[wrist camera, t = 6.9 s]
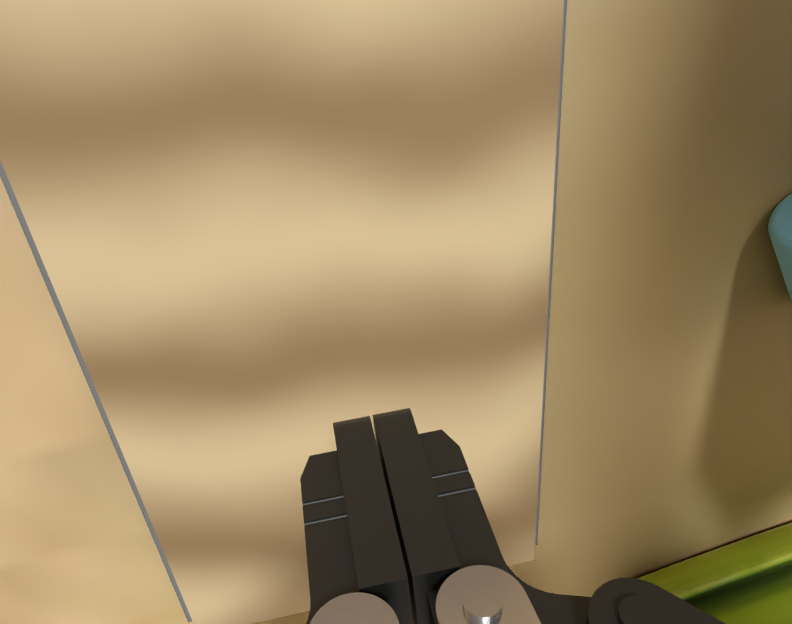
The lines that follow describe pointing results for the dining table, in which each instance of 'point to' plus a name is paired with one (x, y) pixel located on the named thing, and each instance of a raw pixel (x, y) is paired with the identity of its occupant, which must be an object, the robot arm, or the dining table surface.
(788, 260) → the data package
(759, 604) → the flower pot
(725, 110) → the dining table surface
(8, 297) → the dining table surface
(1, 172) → the underlay
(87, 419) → the dining table surface
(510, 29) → the oak plank
